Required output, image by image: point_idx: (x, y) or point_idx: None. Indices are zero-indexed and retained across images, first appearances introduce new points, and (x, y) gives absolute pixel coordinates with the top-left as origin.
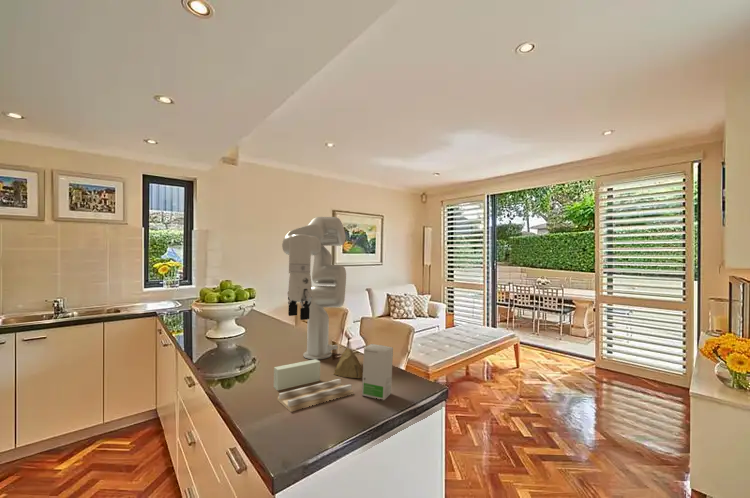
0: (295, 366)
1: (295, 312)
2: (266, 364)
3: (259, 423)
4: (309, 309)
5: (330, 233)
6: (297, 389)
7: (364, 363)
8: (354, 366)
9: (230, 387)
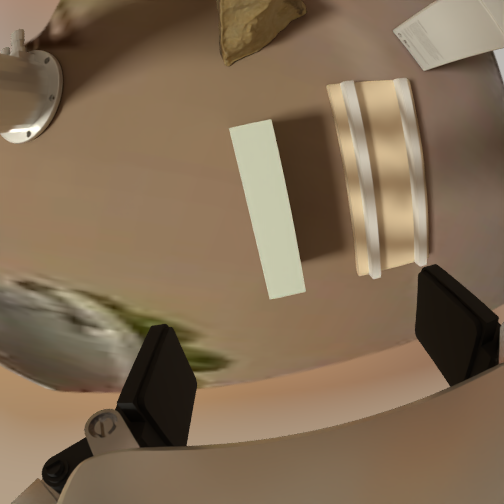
0: (294, 229)
1: (172, 355)
2: (65, 261)
3: None
4: (485, 306)
5: None
6: (373, 230)
7: (478, 53)
8: (285, 2)
9: (223, 358)
